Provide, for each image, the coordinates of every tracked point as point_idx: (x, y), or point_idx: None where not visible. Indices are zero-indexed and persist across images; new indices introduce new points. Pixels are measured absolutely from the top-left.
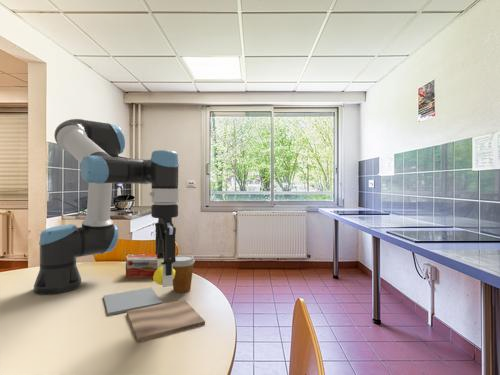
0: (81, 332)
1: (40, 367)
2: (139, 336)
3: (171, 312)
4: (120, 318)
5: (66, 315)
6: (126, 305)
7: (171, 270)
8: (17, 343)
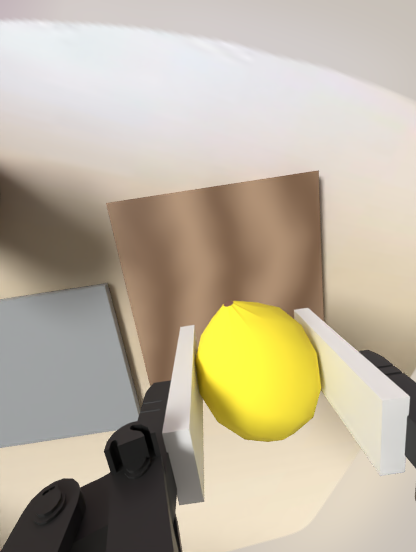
0: (216, 458)
1: (324, 491)
2: None
3: (208, 265)
4: None
5: None
6: (100, 386)
7: (398, 371)
8: (217, 541)
